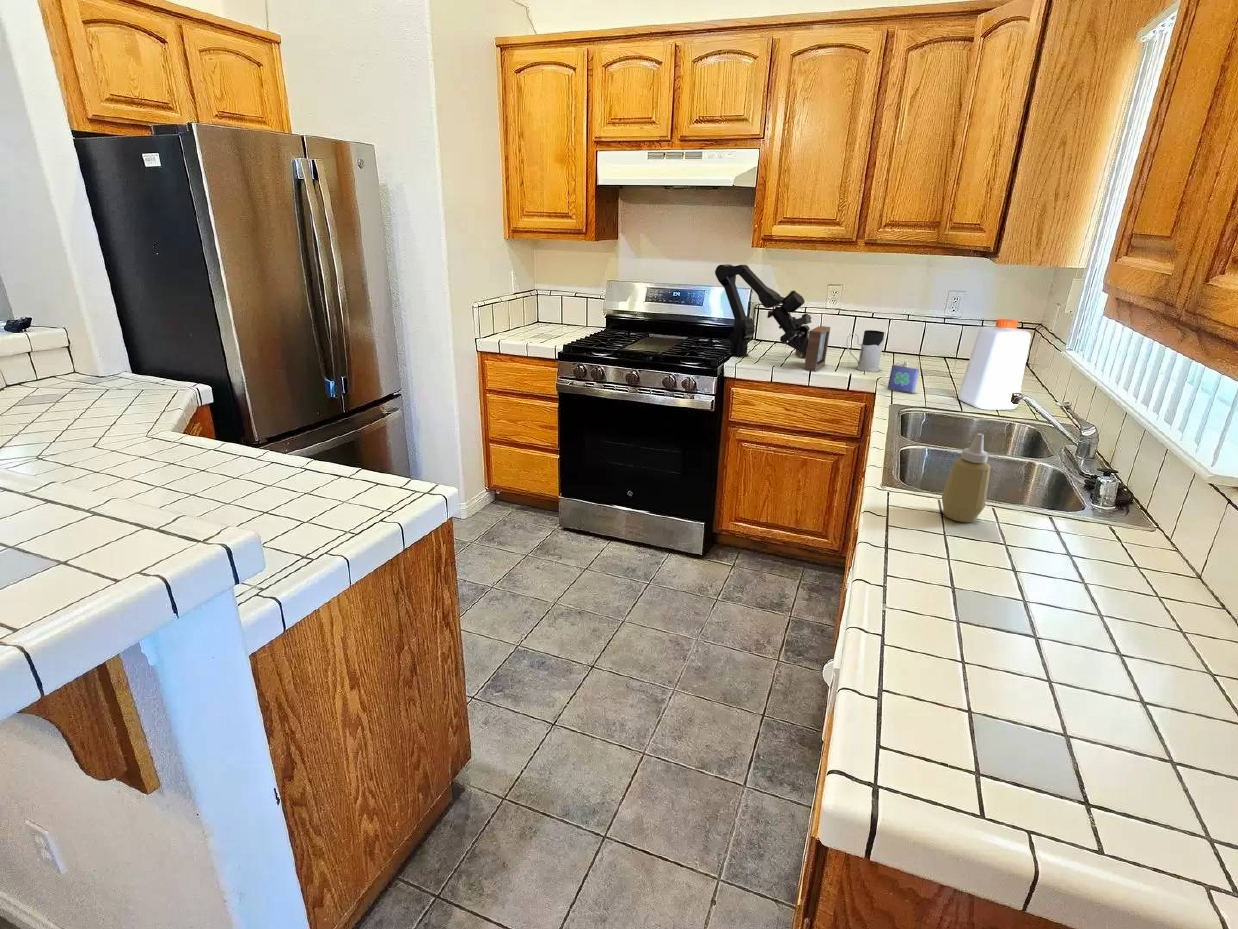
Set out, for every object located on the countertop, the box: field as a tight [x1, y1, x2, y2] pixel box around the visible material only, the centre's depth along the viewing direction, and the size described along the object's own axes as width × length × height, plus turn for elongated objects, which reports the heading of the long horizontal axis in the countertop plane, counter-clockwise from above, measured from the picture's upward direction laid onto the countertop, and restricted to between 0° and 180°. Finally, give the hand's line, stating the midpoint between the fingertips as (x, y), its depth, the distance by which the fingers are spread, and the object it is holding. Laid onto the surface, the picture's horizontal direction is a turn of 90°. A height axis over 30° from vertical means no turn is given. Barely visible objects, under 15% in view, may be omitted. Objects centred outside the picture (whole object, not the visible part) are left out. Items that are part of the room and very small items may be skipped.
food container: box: [794, 333, 809, 359], centre depth 280 cm, size 12×6×10 cm, turn 179°
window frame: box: [803, 325, 831, 372], centre depth 259 cm, size 15×4×15 cm, turn 149°
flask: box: [887, 360, 920, 394], centre depth 228 cm, size 9×3×11 cm, turn 51°
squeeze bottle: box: [941, 432, 991, 523], centre depth 130 cm, size 8×8×18 cm
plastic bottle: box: [957, 318, 1032, 411], centre depth 213 cm, size 15×15×28 cm
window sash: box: [802, 338, 808, 357], centre depth 257 cm, size 6×4×11 cm
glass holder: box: [846, 329, 885, 373], centre depth 260 cm, size 9×14×15 cm, turn 77°
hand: (807, 351), depth 257 cm, fingers open, 7 cm apart
